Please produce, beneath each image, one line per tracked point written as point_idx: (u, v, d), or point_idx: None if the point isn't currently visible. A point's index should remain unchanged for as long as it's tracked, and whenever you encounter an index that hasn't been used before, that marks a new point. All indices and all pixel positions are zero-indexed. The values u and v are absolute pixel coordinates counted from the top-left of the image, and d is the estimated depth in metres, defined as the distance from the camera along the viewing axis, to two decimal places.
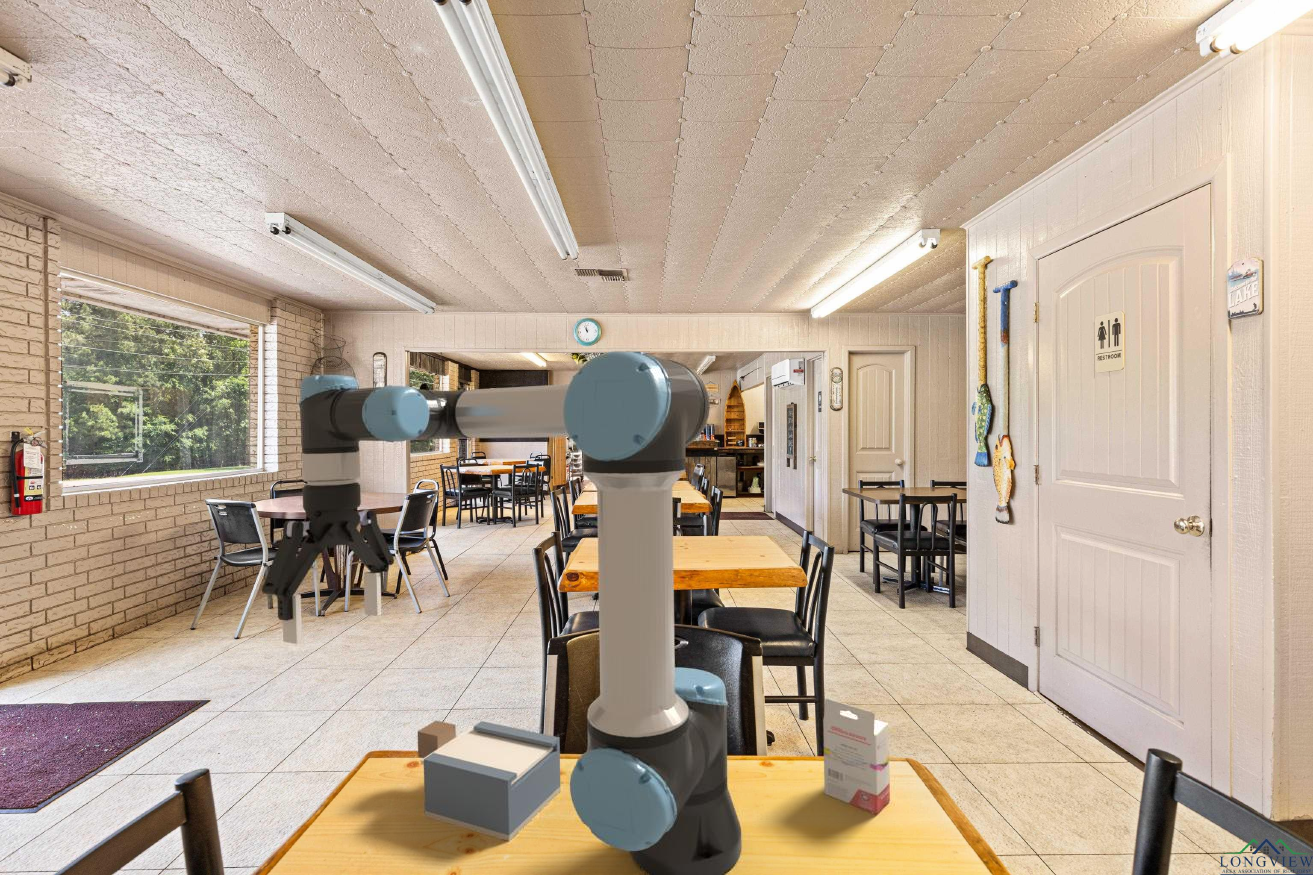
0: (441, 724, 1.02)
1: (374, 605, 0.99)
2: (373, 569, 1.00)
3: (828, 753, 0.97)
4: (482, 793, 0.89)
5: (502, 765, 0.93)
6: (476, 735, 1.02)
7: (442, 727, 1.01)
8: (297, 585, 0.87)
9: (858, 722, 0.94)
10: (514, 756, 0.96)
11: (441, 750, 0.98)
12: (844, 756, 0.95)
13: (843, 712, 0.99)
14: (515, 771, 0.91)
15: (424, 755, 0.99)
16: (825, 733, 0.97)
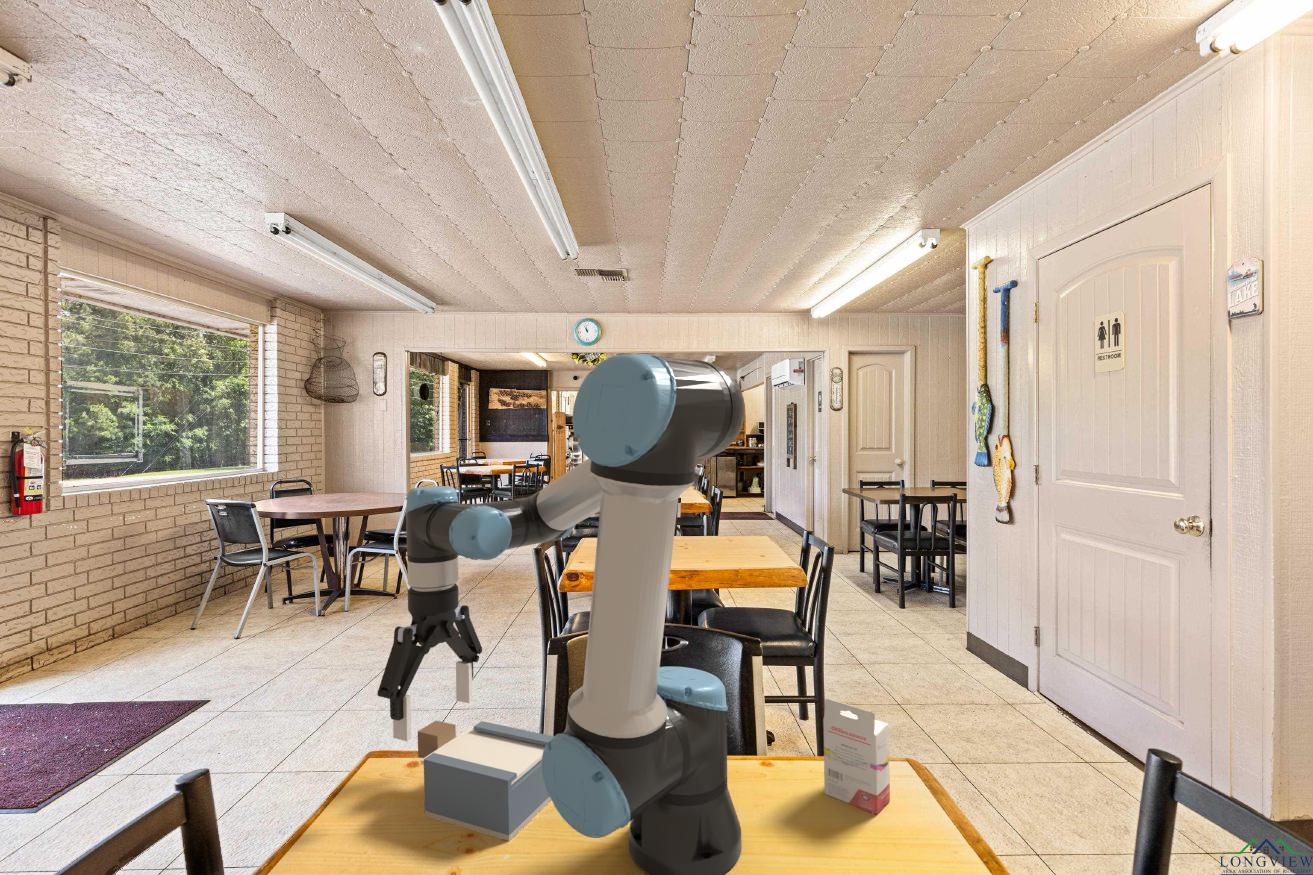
0: (441, 724, 1.02)
1: (466, 693, 1.07)
2: (464, 659, 1.07)
3: (828, 753, 0.97)
4: (482, 793, 0.89)
5: (502, 765, 0.93)
6: (476, 735, 1.02)
7: (442, 727, 1.01)
8: (407, 687, 0.94)
9: (858, 722, 0.94)
10: (514, 756, 0.96)
11: (441, 750, 0.98)
12: (844, 756, 0.95)
13: (843, 712, 0.99)
14: (515, 771, 0.91)
15: (424, 755, 0.99)
16: (825, 733, 0.97)
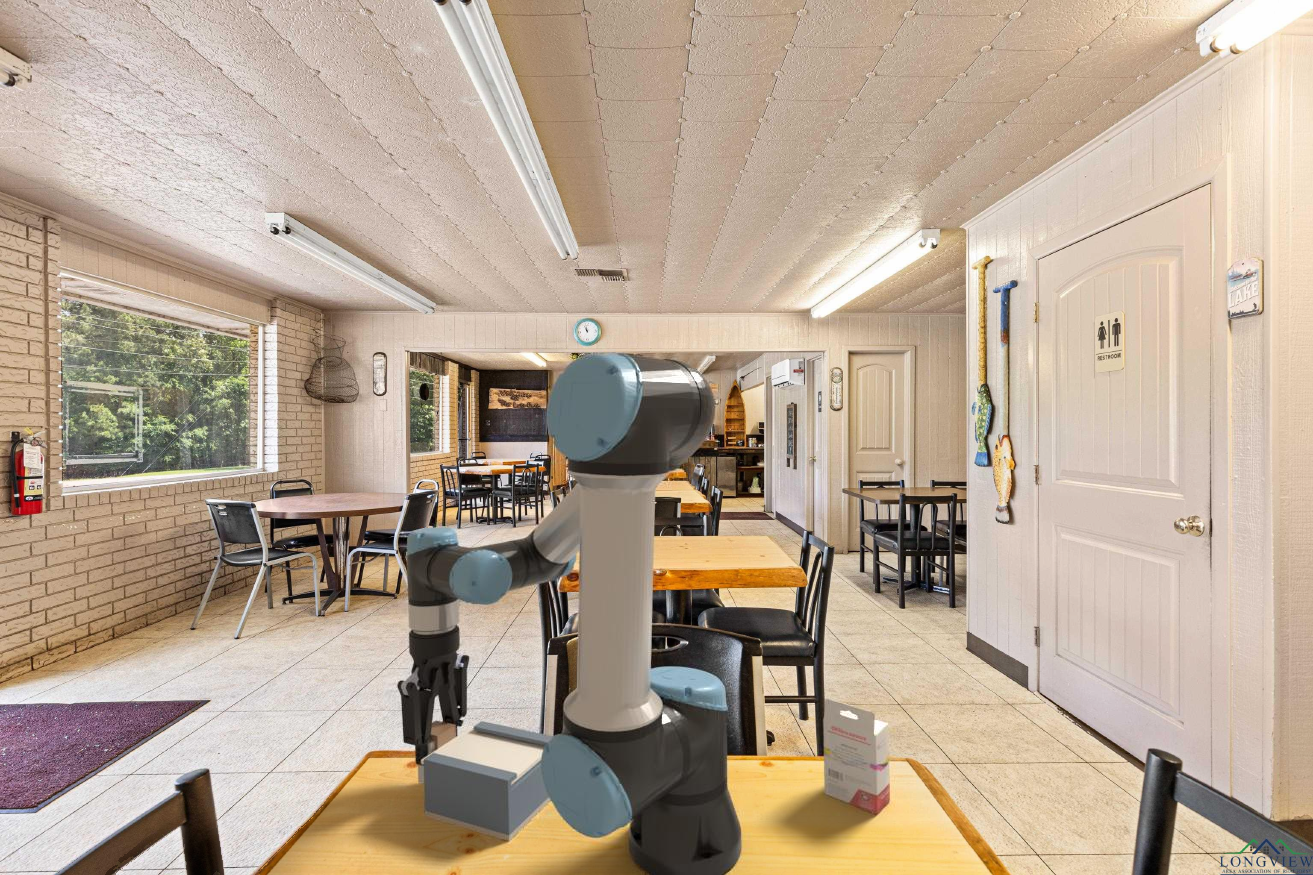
0: (441, 724, 1.02)
1: None
2: (448, 721, 1.03)
3: (828, 753, 0.97)
4: (482, 793, 0.89)
5: (502, 765, 0.93)
6: (476, 735, 1.02)
7: (442, 727, 1.01)
8: (429, 732, 0.98)
9: (858, 722, 0.94)
10: (514, 756, 0.96)
11: (441, 750, 0.98)
12: (844, 756, 0.95)
13: (843, 712, 0.99)
14: (515, 771, 0.91)
15: None
16: (825, 733, 0.97)
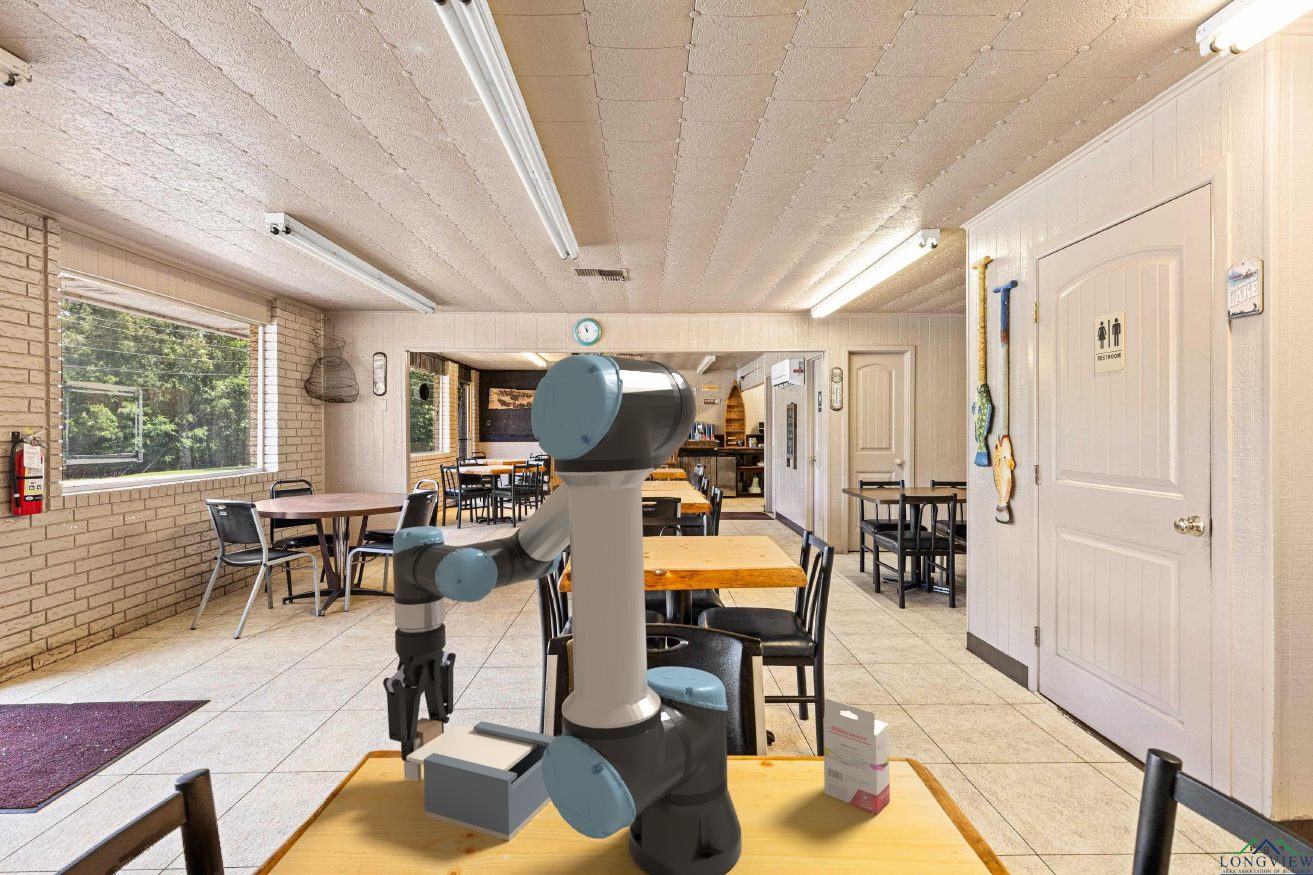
0: (428, 721, 1.03)
1: None
2: (434, 718, 1.04)
3: (828, 753, 0.97)
4: (482, 793, 0.89)
5: (486, 761, 0.94)
6: (462, 732, 1.03)
7: (428, 724, 1.02)
8: (415, 728, 0.99)
9: (858, 722, 0.94)
10: (498, 752, 0.97)
11: (427, 747, 0.99)
12: (844, 756, 0.95)
13: (843, 712, 0.99)
14: (499, 767, 0.93)
15: None
16: (825, 733, 0.97)
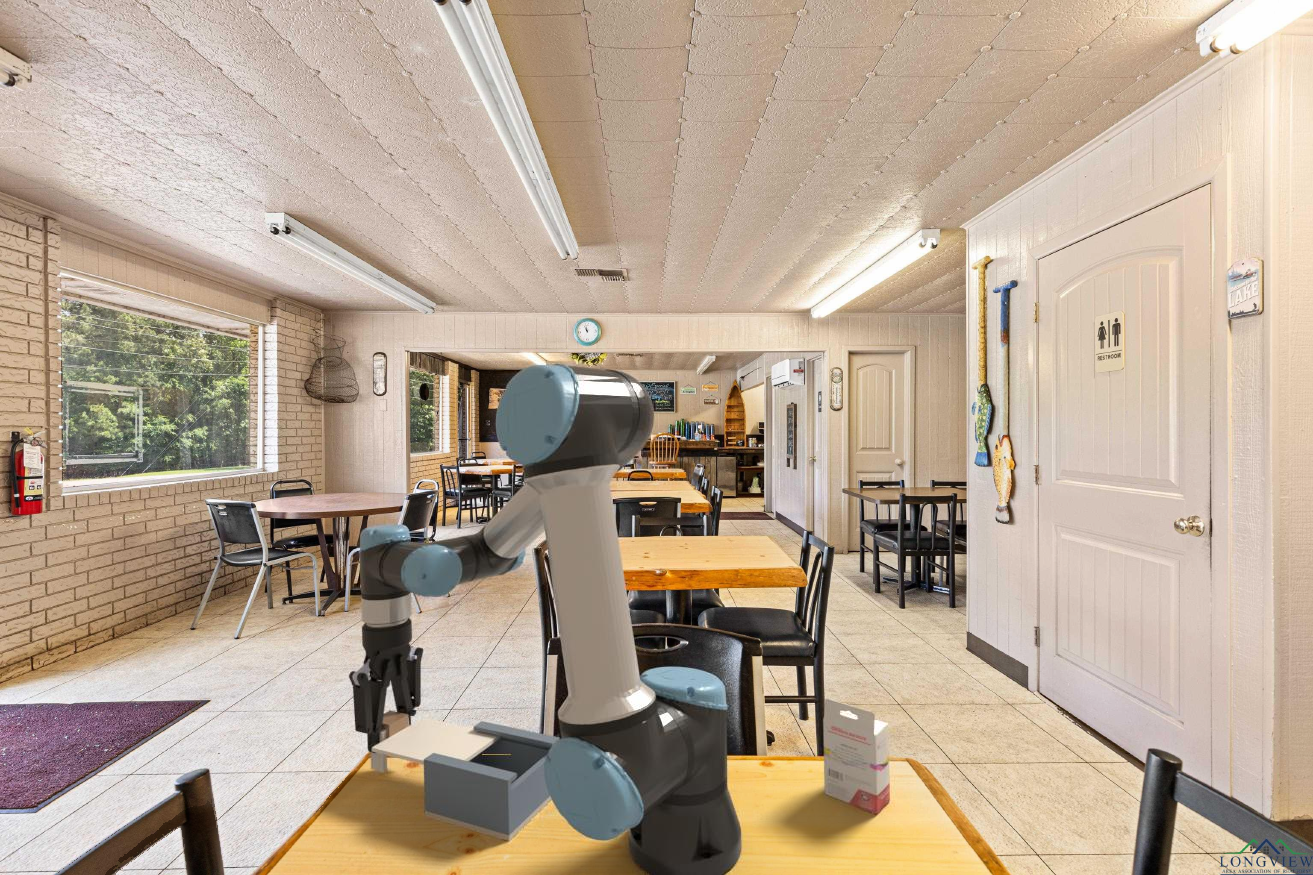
0: (395, 714, 1.06)
1: None
2: (401, 711, 1.07)
3: (828, 753, 0.97)
4: (482, 793, 0.89)
5: (448, 752, 0.97)
6: (428, 724, 1.06)
7: (394, 716, 1.05)
8: (381, 720, 1.02)
9: (858, 722, 0.94)
10: (461, 744, 1.00)
11: (392, 738, 1.02)
12: (844, 756, 0.95)
13: (843, 712, 0.99)
14: (460, 758, 0.95)
15: None
16: (825, 733, 0.97)
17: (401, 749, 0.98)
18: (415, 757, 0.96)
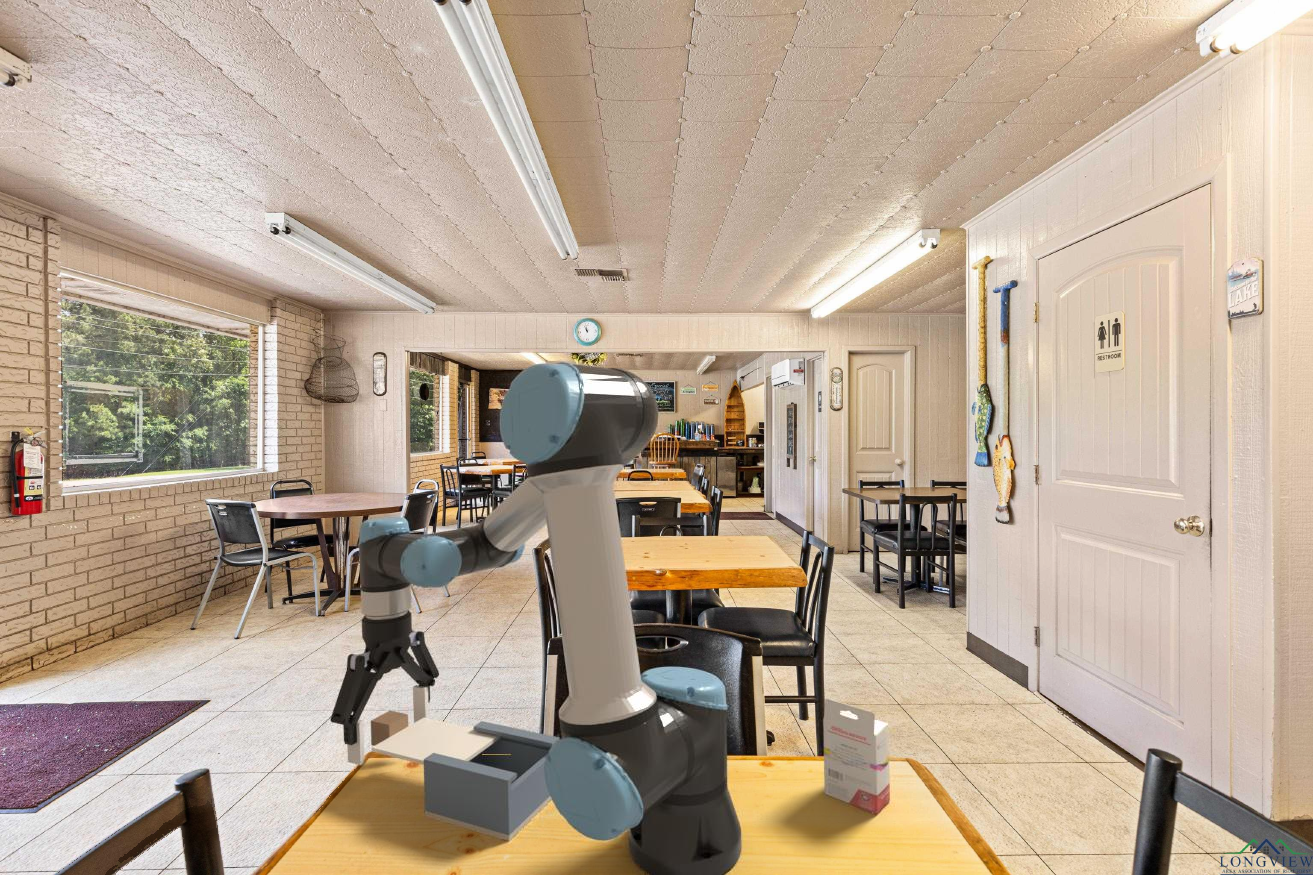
0: (395, 714, 1.06)
1: (422, 717, 1.10)
2: (421, 683, 1.11)
3: (828, 753, 0.97)
4: (482, 793, 0.89)
5: (448, 752, 0.97)
6: (428, 724, 1.06)
7: (394, 716, 1.05)
8: (360, 712, 0.98)
9: (858, 722, 0.94)
10: (461, 744, 1.00)
11: (392, 738, 1.02)
12: (844, 756, 0.95)
13: (843, 712, 0.99)
14: (460, 758, 0.95)
15: (377, 743, 1.03)
16: (825, 733, 0.97)
17: (401, 749, 0.98)
18: (415, 757, 0.96)
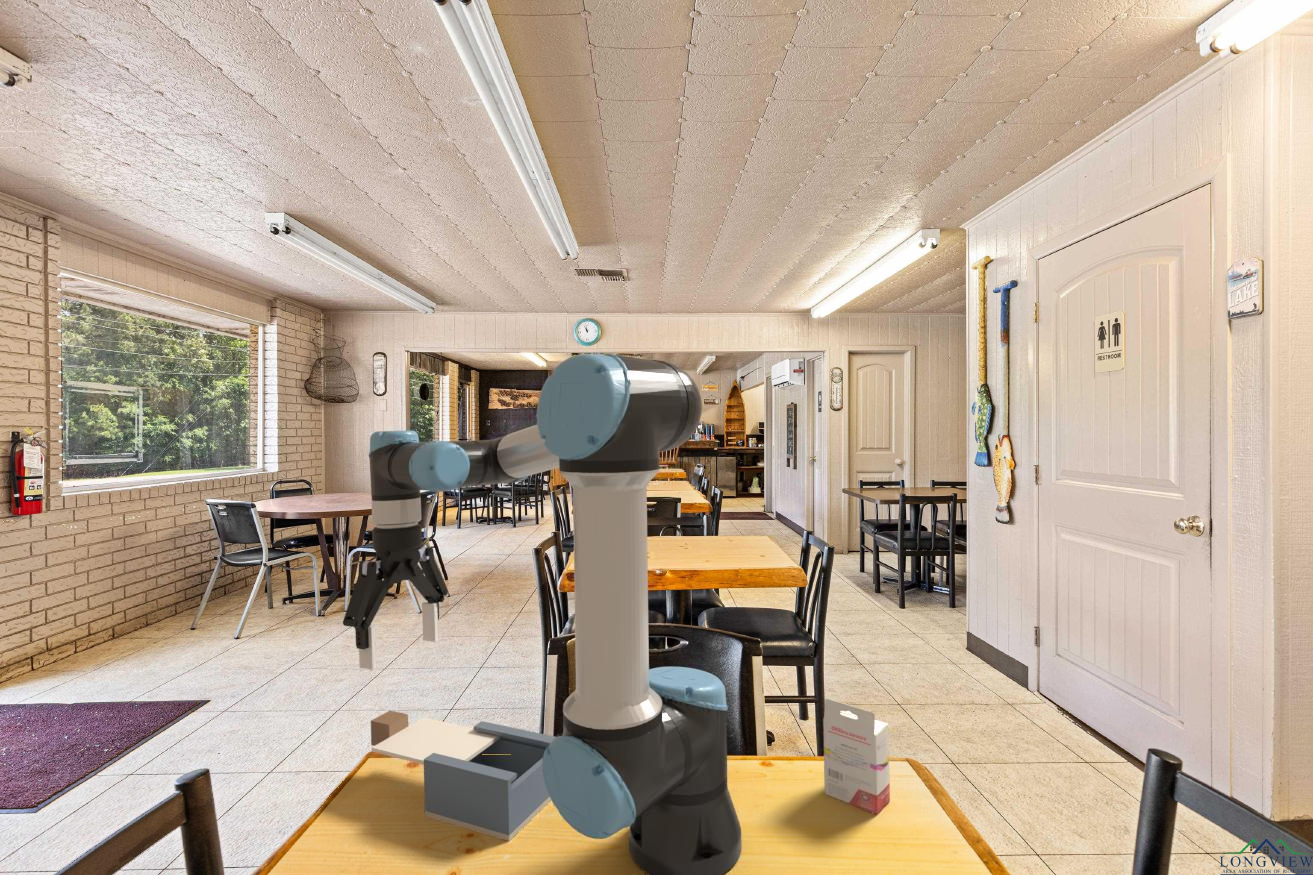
0: (395, 714, 1.06)
1: (432, 632, 1.11)
2: (430, 600, 1.12)
3: (828, 753, 0.97)
4: (482, 793, 0.89)
5: (448, 752, 0.97)
6: (428, 724, 1.06)
7: (394, 716, 1.05)
8: (372, 618, 0.98)
9: (858, 722, 0.94)
10: (461, 744, 1.00)
11: (392, 738, 1.02)
12: (844, 756, 0.95)
13: (843, 712, 0.99)
14: (460, 758, 0.95)
15: (377, 743, 1.03)
16: (825, 733, 0.97)
17: (401, 749, 0.98)
18: (415, 757, 0.96)
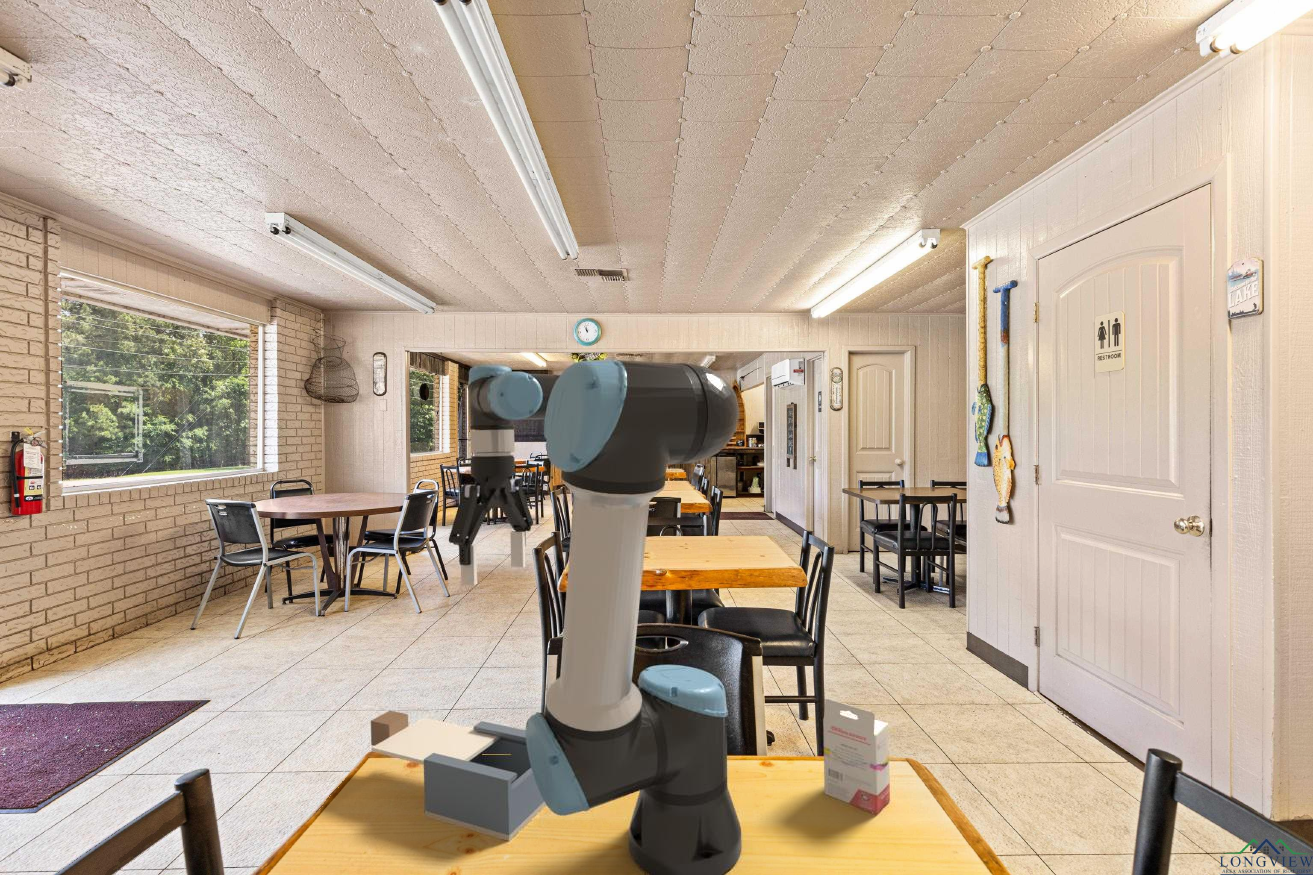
0: (395, 714, 1.06)
1: (520, 559, 1.18)
2: (518, 529, 1.19)
3: (828, 753, 0.97)
4: (482, 793, 0.89)
5: (448, 752, 0.97)
6: (428, 724, 1.06)
7: (394, 716, 1.05)
8: (474, 537, 1.06)
9: (858, 722, 0.94)
10: (461, 744, 1.00)
11: (392, 738, 1.02)
12: (844, 756, 0.95)
13: (843, 712, 0.99)
14: (460, 758, 0.95)
15: (377, 743, 1.03)
16: (825, 733, 0.97)
17: (401, 749, 0.98)
18: (415, 757, 0.96)
